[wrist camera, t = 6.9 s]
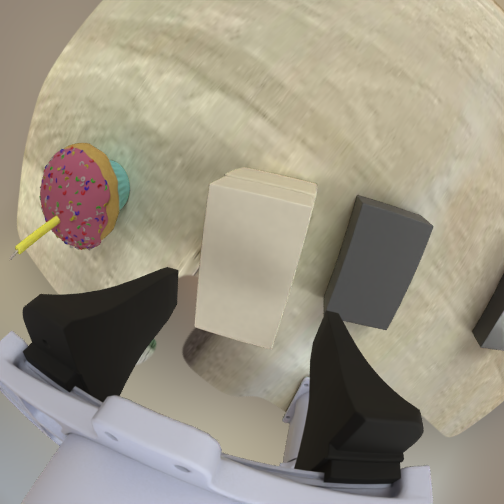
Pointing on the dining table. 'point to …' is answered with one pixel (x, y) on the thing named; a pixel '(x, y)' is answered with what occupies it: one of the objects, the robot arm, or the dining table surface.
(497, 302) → the grey book
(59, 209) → the cupcake
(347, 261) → the grey book
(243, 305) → the cream book
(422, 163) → the dining table surface
